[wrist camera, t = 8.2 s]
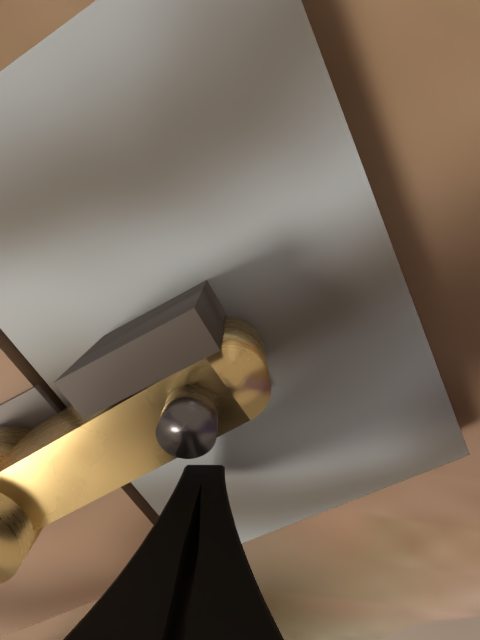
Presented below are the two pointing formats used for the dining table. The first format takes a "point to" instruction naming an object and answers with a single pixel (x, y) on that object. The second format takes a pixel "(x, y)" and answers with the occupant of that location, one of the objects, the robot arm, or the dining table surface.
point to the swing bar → (125, 439)
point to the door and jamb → (200, 271)
